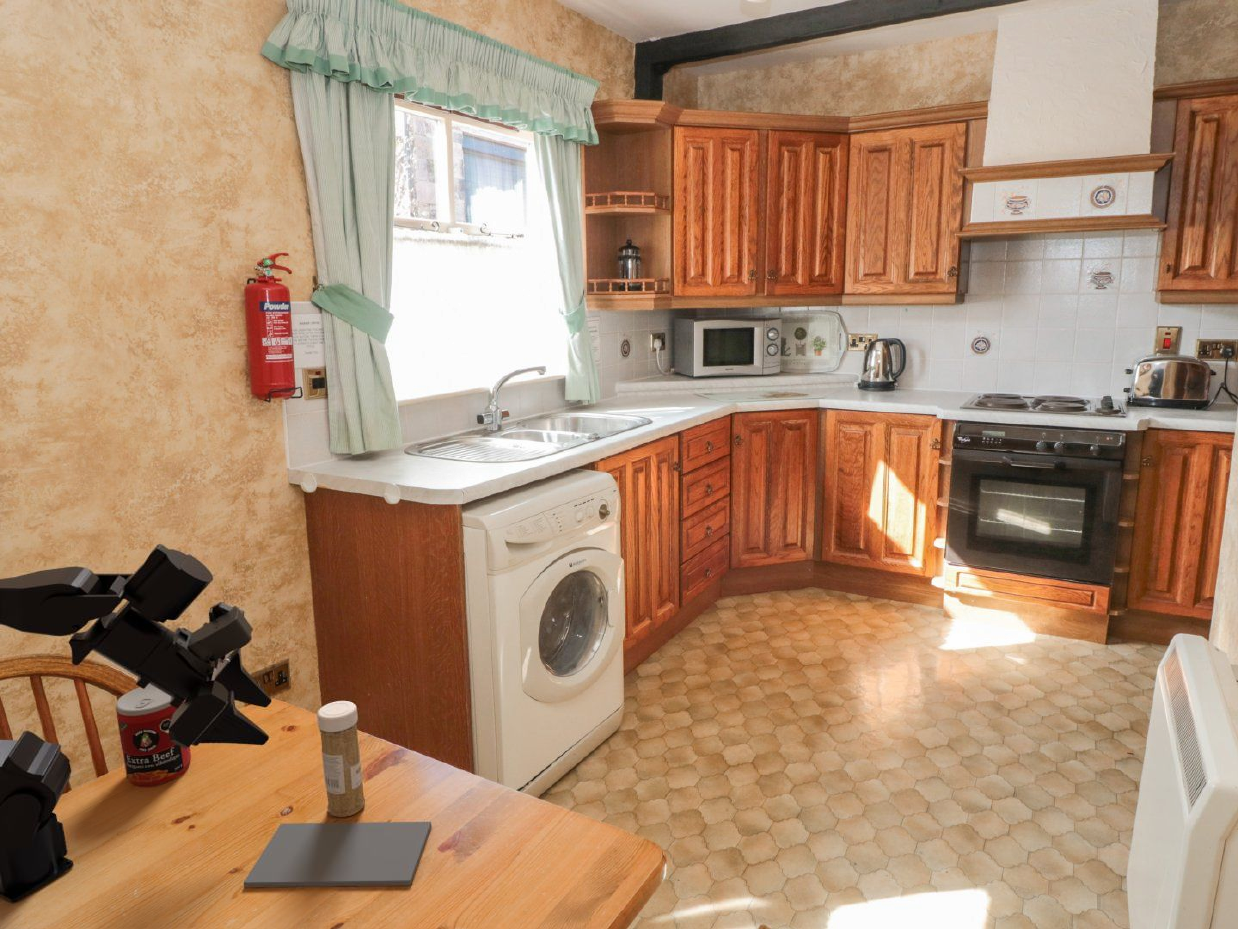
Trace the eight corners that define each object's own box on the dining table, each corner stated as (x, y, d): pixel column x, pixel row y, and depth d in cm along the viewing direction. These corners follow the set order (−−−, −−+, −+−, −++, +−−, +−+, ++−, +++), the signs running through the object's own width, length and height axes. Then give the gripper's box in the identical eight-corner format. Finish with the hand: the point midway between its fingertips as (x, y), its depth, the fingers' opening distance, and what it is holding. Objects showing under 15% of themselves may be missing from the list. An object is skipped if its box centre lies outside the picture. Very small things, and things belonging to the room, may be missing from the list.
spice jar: (372, 807, 103) (363, 708, 100) (337, 824, 100) (326, 722, 97) (354, 792, 106) (345, 695, 103) (320, 807, 103) (310, 708, 100)
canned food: (119, 793, 107) (106, 715, 104) (136, 760, 114) (125, 686, 112) (184, 782, 108) (173, 706, 106) (197, 751, 116) (187, 678, 114)
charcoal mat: (244, 887, 89) (243, 882, 89) (281, 828, 99) (280, 823, 99) (410, 885, 89) (410, 880, 89) (431, 826, 99) (431, 821, 99)
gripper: (190, 624, 83) (316, 704, 89) (208, 568, 100) (313, 638, 107) (112, 711, 82) (245, 785, 88) (144, 639, 99) (253, 706, 105)
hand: (268, 721), depth 97 cm, fingers open, 9 cm apart
